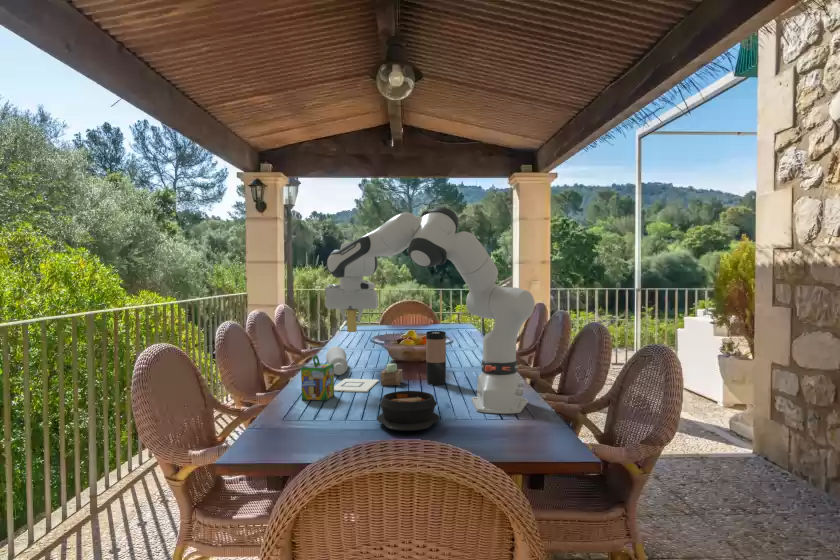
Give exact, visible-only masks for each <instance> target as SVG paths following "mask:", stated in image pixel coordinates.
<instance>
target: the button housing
mask: <svg viewBox="0 0 840 560" xmlns="http://www.w3.org/2000/svg"><path fill="white" fill-rule="evenodd" d="M401 382H402V383H403V369H402V368H401V369H399V368H397V372H387V368H384V369H382V371H380V386H388V385H399V386H400V385H401V384H402V383H401ZM400 383H401V384H400Z"/></svg>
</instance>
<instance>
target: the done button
mask: <svg viewBox="0 0 840 560" xmlns="http://www.w3.org/2000/svg"><path fill="white" fill-rule="evenodd" d="M386 369H387V372H397V369H398V365H397V363H387V364H386Z"/></svg>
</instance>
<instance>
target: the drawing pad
mask: <svg viewBox="0 0 840 560" xmlns="http://www.w3.org/2000/svg"><path fill="white" fill-rule="evenodd" d="M378 381H379V382H380V379H371V378H364V379H363V378H343V380H341V381H340V382H338V383H337V384H336V385H334V391H340V392H339V393H366V392H367V393H368V392H369V391H371V389H372V388H373V387H374V386H375V385H377V384H378V383H379V382H378ZM377 382H378V383H377ZM343 391H344V392H343Z"/></svg>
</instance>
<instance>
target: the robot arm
mask: <svg viewBox="0 0 840 560" xmlns="http://www.w3.org/2000/svg"><path fill="white" fill-rule="evenodd" d="M458 228H459V217H458V216H457V214H456V213H455V212H454V211H453V210H452V209H450V208H447V207H443V206H442V207H435V208H432V209H431V210H425V211H423V213H422V214H421V216H420V217H417V215H415V214H413V213H410V212H406V211H405V212H404V211H403V212H400V213H399V214H396V215H394V216H392V217H391V218H389V219H388V220H387V221H385V222H384V223H383V224H382V225H381V226H379V227H377V228H375V229H373V230H372V231H371V232H369V233H366V234H365V235H363V236H361V237H359V238H358V237H357V239H355V240H353V241H345V242H343V243H342V244H341V245H340V249H334V250H333V251H331V253H330V254H329V256H328V257H327V260H326V267H327V270H328V272H329V273H330V275H332V276H333V277H334V278H335V279H338V278H339V284H330V283H329V284H328V285H327V286H325V289H324V294H325V300H324V301H325V302H324V306H325V308H326V309H327V310H329V309H330V310H332V309H333V310H338V309H339V313H340V315H341V316H342V321H343V322H347V314H345V313H346V310H347V309H348V308H349V306H352V308H353V309H357V310H358V313H359V314H357V316H356V321H357V322H361V320H362V319H361V317H362V315H363V313H364V310H377V309H378V307H379V296H378V295H379V294H378V292H377V290H376V289H375V288H376V283H374V282H371V281H368V280H364V277H370V276H373V275H374V274H375V272H376V271H377V269H378V262H379V261H378V257H392V256H395V255H398V254H401V253H403V252H404V251H405V250H406V249H407V254H408V257H409V259H410V260H411V261H412V262H413V263H414V264H415V265H416V266H418V267H422V268H433V267H435V266H442V265H445V263H446V262H447V260H449V261H450V262H451V263H453V266H454V267H455V269H456V270H457V272H458V273H459V275H460V276H461V277H462V280H463V281H464V282H465V284H466V286H467V288H468V289H469V292H468V293H467V296H466V298H465V306H466V309H467V310H468V312H469V314H471V315H473V316H476V317H479V318H482V319H489V320H490V319H492V320H494V325H493V327H492V330H490V331H489V332H487V333H486V334H485V335H484V336H483V340H482V359H481V373H480V374H479V375H477V389H476V391H475V393H476V394H477V396H472V397H471V399H470V401H471V403H472V404H473V406H474V408H475V409H474V410H476V412H480V413H487V414H503V415H504V414H520V413H522V411H523V410H524V409H525V407H526V406H527V405H528V403H529V401H528V398H525V397H524V398H523V394H524V389H523V385H524V384H523V383H522V382H523V381H522V377H521V375H519V374H518V367H519V365H518V360H517V339H518V335H519V331H520V329H521V327H522V325H523V324H524V323H525V322H526V321H527V320H528V319H529V318H530V317H531V316H532V315H533V313H534V311H535V306H536V305H535V299H534V296H533V295H532V292H531V291H528V290H526V289H523V288H519V287H512V286H511V287H510V286H509V287H508V286H499V285H497V283H496V282H497V280H498V275H499V270H498V268H497V266H496V264H495V263H494V261H493V259H492V258H491V256H490V255H489V252H488V251H487V250H486V248H485V247H484V245H483V244H482V243H481V242H480V240H478V239H477V238H476V237H475V236H474V234H472V233H471V232H469V231H465V230H464V231H459V232H457V231H458Z"/></svg>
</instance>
